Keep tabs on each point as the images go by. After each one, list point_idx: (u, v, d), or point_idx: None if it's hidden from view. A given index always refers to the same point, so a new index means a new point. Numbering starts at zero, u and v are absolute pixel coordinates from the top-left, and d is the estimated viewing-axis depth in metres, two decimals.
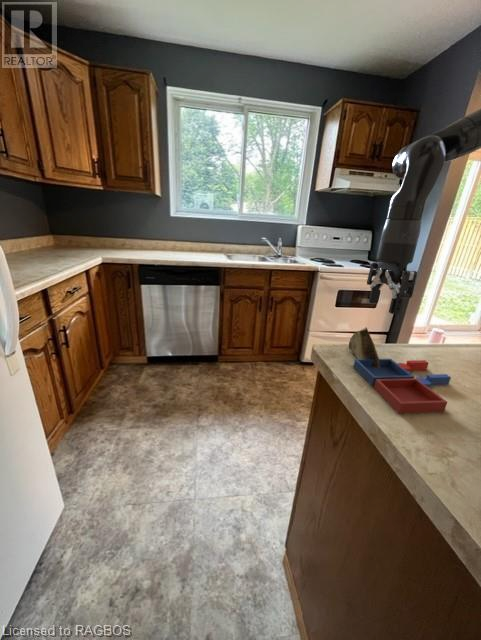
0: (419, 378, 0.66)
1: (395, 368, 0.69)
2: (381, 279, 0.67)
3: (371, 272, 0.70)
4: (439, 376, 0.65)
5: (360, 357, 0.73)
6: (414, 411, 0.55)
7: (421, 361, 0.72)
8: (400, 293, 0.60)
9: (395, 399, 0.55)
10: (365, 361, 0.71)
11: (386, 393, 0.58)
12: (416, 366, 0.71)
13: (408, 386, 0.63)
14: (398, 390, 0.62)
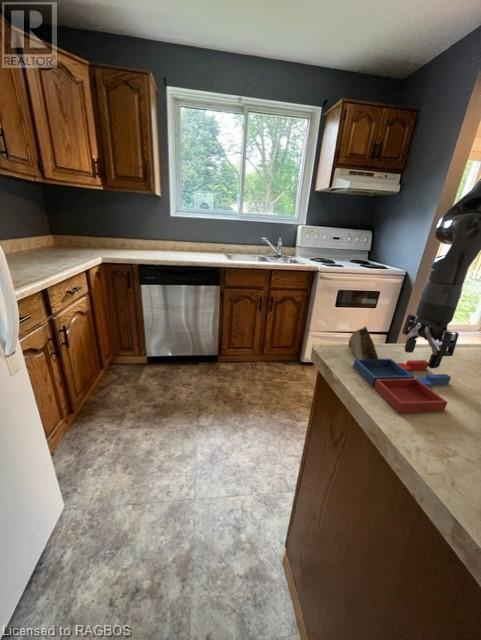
0: (419, 378, 0.66)
1: (395, 368, 0.69)
2: (419, 333, 0.70)
3: (408, 323, 0.74)
4: (439, 376, 0.65)
5: (359, 356, 0.74)
6: (414, 411, 0.55)
7: (421, 361, 0.72)
8: (441, 352, 0.63)
9: (395, 399, 0.55)
10: (365, 361, 0.71)
11: (386, 393, 0.58)
12: (416, 366, 0.71)
13: (408, 386, 0.63)
14: (398, 390, 0.62)
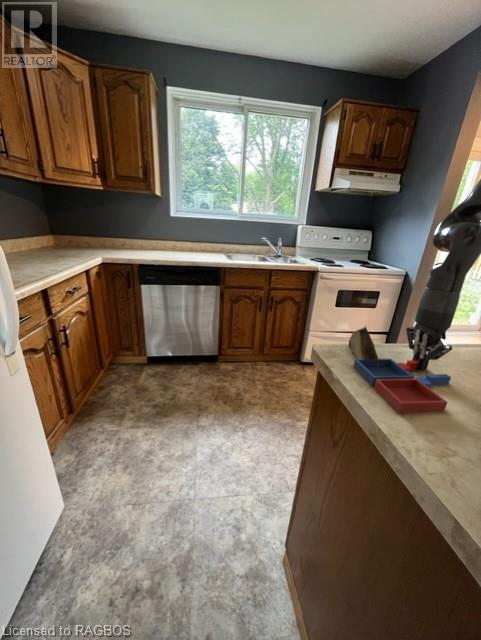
0: (419, 378, 0.66)
1: (395, 368, 0.69)
2: (422, 339, 0.69)
3: (410, 335, 0.73)
4: (439, 376, 0.65)
5: (359, 356, 0.74)
6: (414, 411, 0.55)
7: None
8: (428, 356, 0.67)
9: (395, 399, 0.55)
10: (365, 361, 0.71)
11: (386, 393, 0.58)
12: (416, 366, 0.71)
13: (408, 386, 0.63)
14: (398, 390, 0.62)
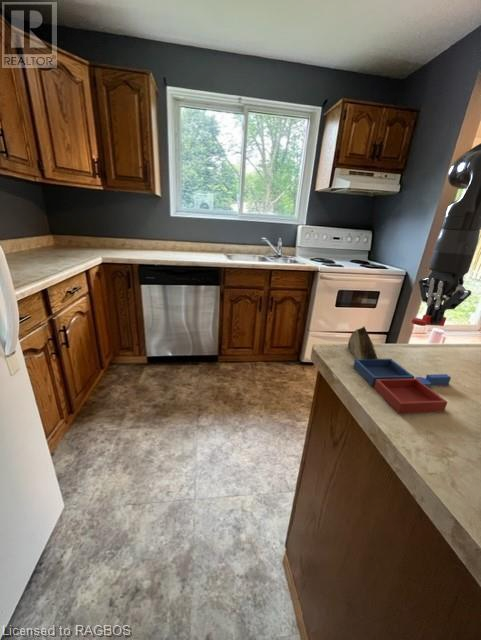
0: (419, 378, 0.66)
1: (395, 368, 0.69)
2: (437, 289, 0.64)
3: (423, 287, 0.68)
4: (439, 376, 0.65)
5: (359, 356, 0.74)
6: (414, 411, 0.55)
7: None
8: (444, 305, 0.62)
9: (395, 399, 0.55)
10: (365, 361, 0.71)
11: (386, 393, 0.58)
12: None
13: (408, 386, 0.63)
14: (398, 390, 0.62)
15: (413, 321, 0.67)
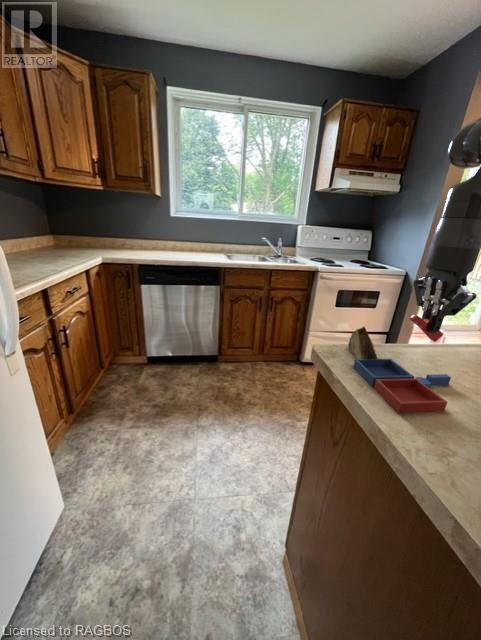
0: (419, 378, 0.66)
1: (395, 368, 0.69)
2: (435, 291, 0.54)
3: (418, 289, 0.57)
4: (439, 376, 0.65)
5: (359, 356, 0.74)
6: (414, 411, 0.55)
7: None
8: (443, 310, 0.51)
9: (395, 399, 0.55)
10: (365, 361, 0.71)
11: (386, 393, 0.58)
12: None
13: (408, 386, 0.63)
14: (398, 390, 0.62)
15: (414, 316, 0.55)
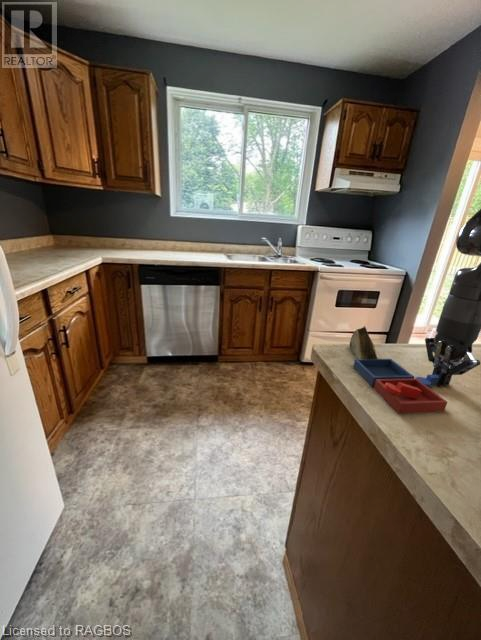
0: (419, 378, 0.66)
1: (395, 368, 0.69)
2: (444, 352, 0.63)
3: (430, 347, 0.67)
4: None
5: (359, 356, 0.74)
6: (414, 411, 0.55)
7: (414, 387, 0.58)
8: (452, 371, 0.61)
9: (395, 399, 0.55)
10: (365, 361, 0.71)
11: (386, 393, 0.58)
12: (407, 392, 0.58)
13: None
14: None
15: (386, 387, 0.57)
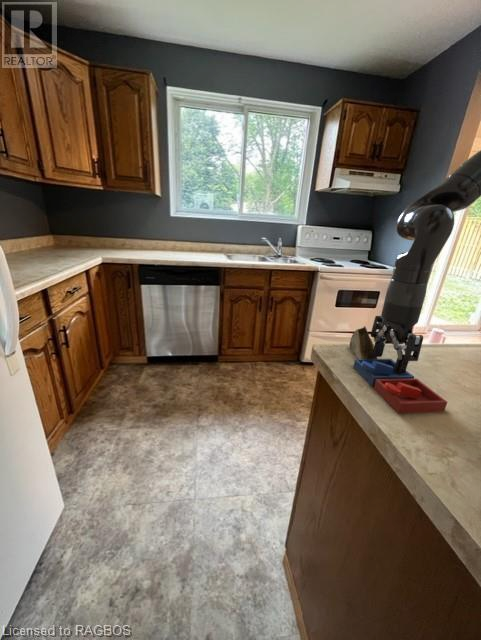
0: (366, 362, 0.67)
1: None
2: (386, 336, 0.65)
3: (375, 325, 0.69)
4: (384, 364, 0.67)
5: (359, 356, 0.74)
6: (414, 411, 0.55)
7: (414, 387, 0.58)
8: (405, 356, 0.59)
9: (395, 399, 0.55)
10: (365, 361, 0.71)
11: (386, 393, 0.58)
12: (407, 392, 0.58)
13: None
14: None
15: (386, 387, 0.57)
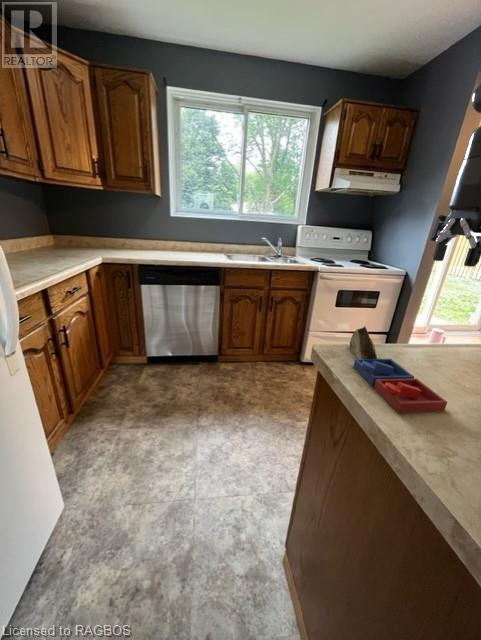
0: (366, 362, 0.67)
1: (395, 368, 0.69)
2: (452, 231, 0.60)
3: (437, 225, 0.64)
4: (384, 364, 0.67)
5: (359, 356, 0.74)
6: (414, 411, 0.55)
7: (414, 387, 0.58)
8: None
9: (395, 399, 0.55)
10: (365, 361, 0.71)
11: (386, 393, 0.58)
12: (407, 392, 0.58)
13: None
14: None
15: (386, 387, 0.57)
